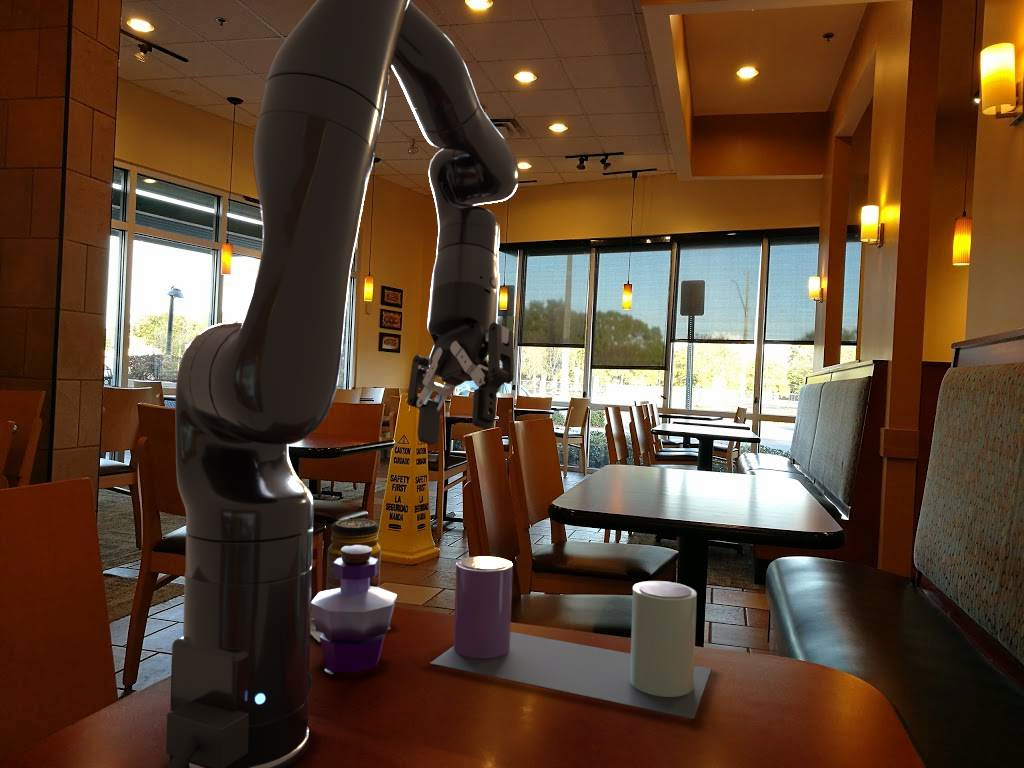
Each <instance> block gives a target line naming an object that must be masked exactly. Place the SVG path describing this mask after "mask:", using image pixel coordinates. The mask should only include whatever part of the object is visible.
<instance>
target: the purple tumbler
mask: <svg viewBox="0 0 1024 768" xmlns="http://www.w3.org/2000/svg"><path fill="white" fill-rule="evenodd" d="M455 565H456V566H455V591H454V622H453V623H454V624H453V646H454V650H455V651H456V652H457V653H458V654H460V655H463V656H466V657H470V658H478V659H488V658H496V657H500V656H503V655H505V654H506V653H508V652H509V650H510V635H511V632H512V606H513V605H512V602H513V575H514V565H513V563H512V561H510V560H508V559H505V558H502V557H496V556H484V555H483V556H482V555H481V556H469V557H464V558H461V559H459V560H457V561H456V563H455Z"/></svg>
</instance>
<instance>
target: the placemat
mask: <svg viewBox="0 0 1024 768" xmlns="http://www.w3.org/2000/svg"><path fill="white" fill-rule="evenodd" d="M429 664H430V665H434V666H439V667H443V668H449V669H453V670H456V671H463V672H466V673H471V674H472V673H473V674H478V675H481V676H486V677H492V678H496V679H499V680H505V681H510V682H514V683H519V684H524V685H529V686H533V687H538V688H543V689H548V690H552V691H557V692H562V693H566V694H571V695H576V696H581V697H585V698H590V699H595V700H600V701H605V702H610V703H615V704H618V705H623V706H629V707H632V708H637V709H641V710H647V711H651V712H656V713H661V714H666V715H671V716H674V717H675V716H676V717H681V718H686V719H689V720H695V717H696V714H697V712H698V709H699V706H700V704H701V700H702V697H703V696H704V692H705V689H706V687H707V685H708V681H709V679H710V676H711V673H712V670H713V669H712V668H711V667H706V666H699V665H695V664H694V682H693V690H692V691H691V692H690V693H688V694H686V695H683V696H678V697H662V696H655V695H651V694H647V693H644V692H642V691H640V690H638V689H636V688H635V687H634V686H632V684H631V683H630V653H629V652H625V651H618V650H612V649H608V648H607V649H606V648H601V647H596V646H595V647H594V646H590V645H584V644H580V643H573V642H568V641H564V640H557V639H553V638H546V637H541V636H535V635H531V634H525V633H519V632H513V631H511V635H510V650H509V652H508V653H506V654H505V655H503V656H500V657H496V658H488V659H478V658H470V657H466V656H463V655H460V654H458V653H457V652H456V651H455V650H454V645H453V646H451V647H450V648H449V649H447V650H446V651H444V652H443V653H442V654H440V655H439V656H438V657H437V658H435V659H434V660H432V661H430V662H429Z"/></svg>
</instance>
